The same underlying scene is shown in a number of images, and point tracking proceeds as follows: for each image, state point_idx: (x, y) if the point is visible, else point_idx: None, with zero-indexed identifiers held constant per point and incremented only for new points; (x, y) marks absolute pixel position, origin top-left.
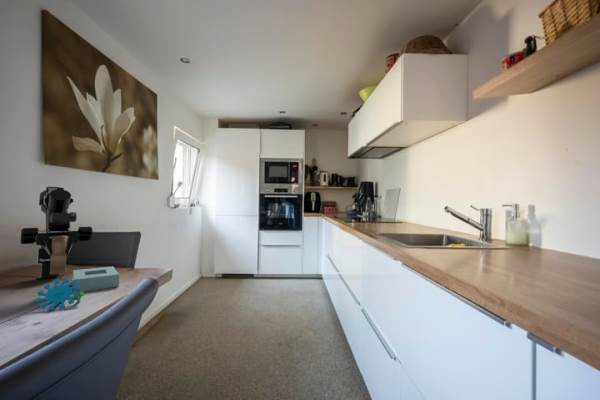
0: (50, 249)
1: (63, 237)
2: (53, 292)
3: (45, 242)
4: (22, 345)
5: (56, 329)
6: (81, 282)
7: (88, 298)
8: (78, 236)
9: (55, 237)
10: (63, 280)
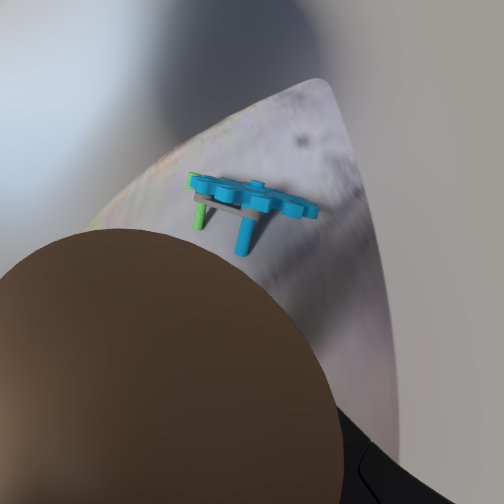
0: None
1: (65, 252)
2: (271, 193)
3: (403, 470)
4: (314, 89)
5: (273, 105)
6: None
7: None
8: None
9: (246, 275)
10: (236, 190)
